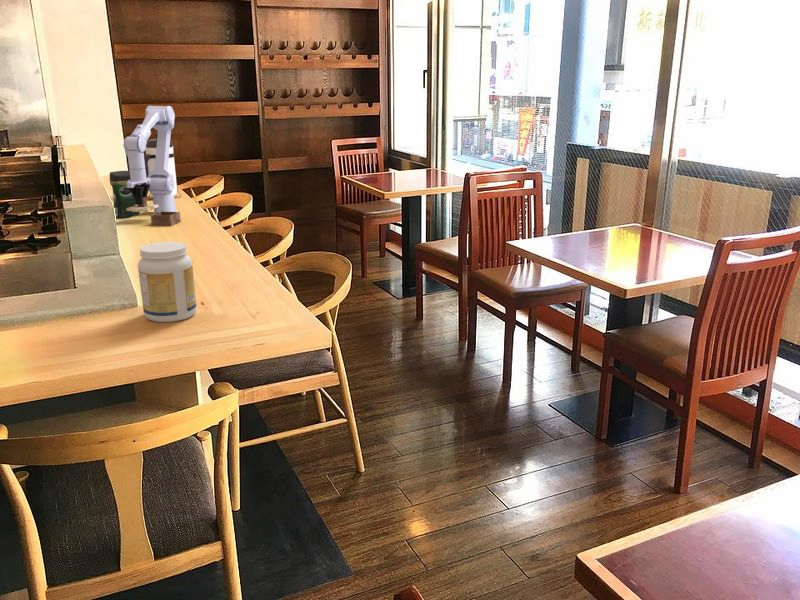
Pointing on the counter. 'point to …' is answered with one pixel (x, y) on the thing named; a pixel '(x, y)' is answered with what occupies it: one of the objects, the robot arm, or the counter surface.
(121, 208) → the coffee jar
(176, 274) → the supplement tub
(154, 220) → the box
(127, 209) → the lid
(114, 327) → the counter surface
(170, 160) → the coffee press
